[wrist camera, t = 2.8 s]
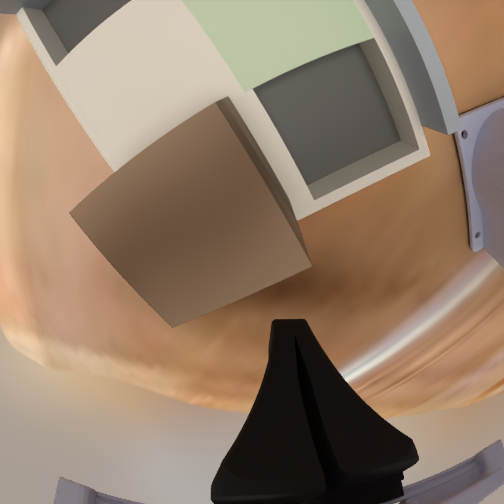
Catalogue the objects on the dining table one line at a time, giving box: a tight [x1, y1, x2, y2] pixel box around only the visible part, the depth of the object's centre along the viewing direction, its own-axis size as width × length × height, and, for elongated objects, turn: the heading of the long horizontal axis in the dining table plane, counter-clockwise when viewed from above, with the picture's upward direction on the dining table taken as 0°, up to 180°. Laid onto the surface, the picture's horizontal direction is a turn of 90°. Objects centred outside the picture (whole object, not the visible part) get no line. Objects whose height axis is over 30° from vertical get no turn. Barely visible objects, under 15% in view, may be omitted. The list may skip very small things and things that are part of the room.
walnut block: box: [69, 96, 312, 328], centre depth 9 cm, size 5×5×5 cm
